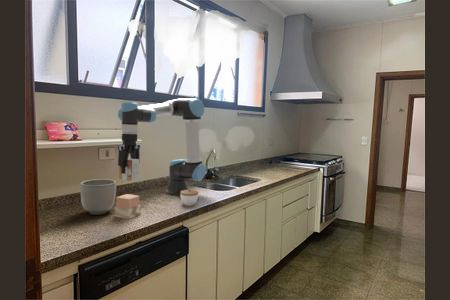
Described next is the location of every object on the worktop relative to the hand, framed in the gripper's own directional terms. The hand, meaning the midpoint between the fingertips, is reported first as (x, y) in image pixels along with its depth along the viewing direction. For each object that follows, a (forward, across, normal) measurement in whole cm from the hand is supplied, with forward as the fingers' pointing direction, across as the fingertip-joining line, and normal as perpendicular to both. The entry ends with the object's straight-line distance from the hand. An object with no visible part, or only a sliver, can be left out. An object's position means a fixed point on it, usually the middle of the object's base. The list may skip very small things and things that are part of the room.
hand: (129, 178), depth 143 cm
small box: (+1, 0, 0) cm, 1 cm away
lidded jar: (+19, -33, +17) cm, 42 cm away
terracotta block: (+14, 0, 0) cm, 14 cm away
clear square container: (+19, 0, 0) cm, 19 cm away
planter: (+19, +4, -16) cm, 26 cm away
